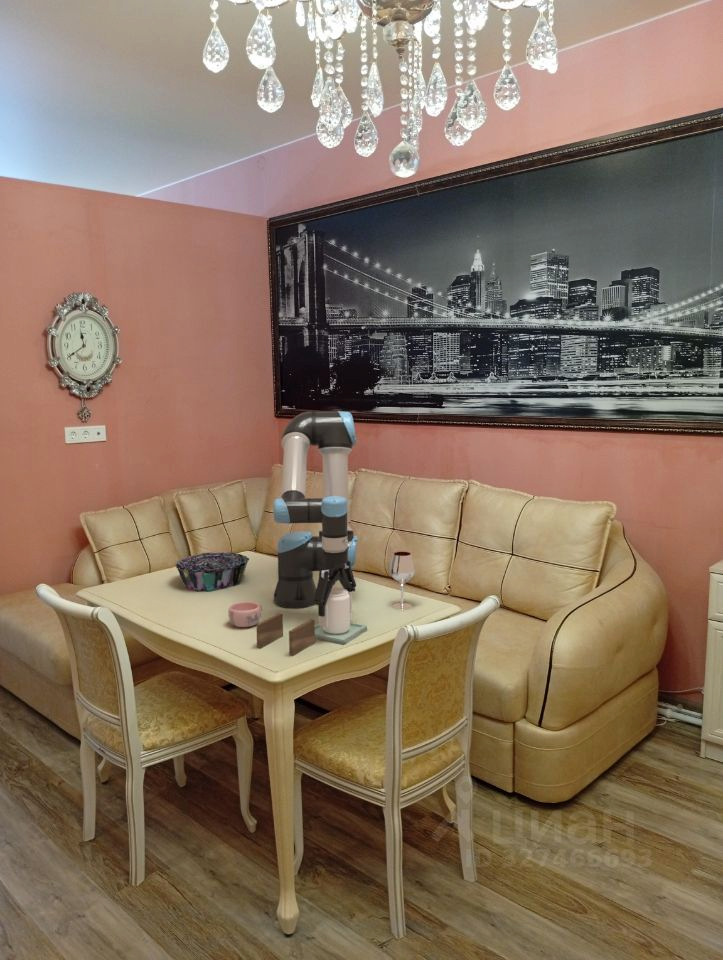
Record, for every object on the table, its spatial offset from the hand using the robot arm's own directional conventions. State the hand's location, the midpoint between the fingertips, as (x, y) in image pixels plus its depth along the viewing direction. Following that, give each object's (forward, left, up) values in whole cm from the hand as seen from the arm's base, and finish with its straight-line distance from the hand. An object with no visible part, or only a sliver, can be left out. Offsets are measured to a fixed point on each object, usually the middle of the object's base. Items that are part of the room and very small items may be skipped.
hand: (335, 619), depth 224 cm
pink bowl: (-28, -6, -5) cm, 30 cm away
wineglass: (+6, +31, -5) cm, 32 cm away
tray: (0, 0, -4) cm, 4 cm away
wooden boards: (-8, -15, -4) cm, 17 cm away
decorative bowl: (-66, +22, -5) cm, 70 cm away
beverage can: (0, 0, -4) cm, 4 cm away
